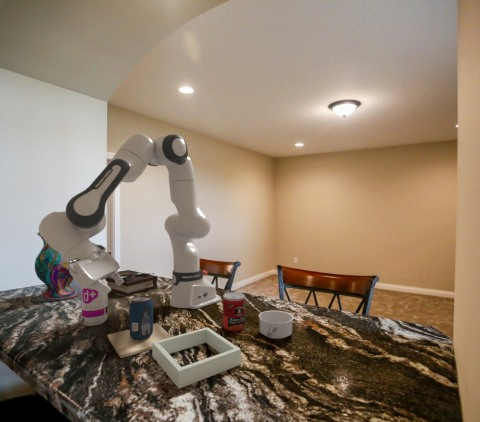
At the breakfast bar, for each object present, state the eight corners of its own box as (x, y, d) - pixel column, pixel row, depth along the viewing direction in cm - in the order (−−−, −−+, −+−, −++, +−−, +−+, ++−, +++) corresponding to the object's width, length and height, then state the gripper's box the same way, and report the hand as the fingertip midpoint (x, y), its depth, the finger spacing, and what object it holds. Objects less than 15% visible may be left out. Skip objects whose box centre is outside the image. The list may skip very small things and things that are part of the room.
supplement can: (97, 327, 99) (97, 283, 99) (76, 325, 100) (76, 282, 100) (112, 318, 107) (112, 278, 107) (92, 316, 108) (92, 277, 108)
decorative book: (127, 267, 164) (161, 274, 147) (127, 280, 165) (161, 289, 147) (94, 273, 149) (128, 282, 131) (94, 288, 149) (128, 299, 131)
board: (156, 325, 101) (156, 323, 101) (175, 342, 88) (175, 339, 88) (107, 337, 91) (107, 334, 91) (120, 358, 78) (120, 355, 78)
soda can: (138, 330, 94) (138, 294, 94) (157, 333, 92) (157, 296, 92) (124, 340, 87) (124, 300, 87) (144, 343, 86) (144, 302, 85)
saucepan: (248, 351, 82) (248, 332, 82) (261, 324, 102) (261, 309, 102) (289, 357, 79) (289, 337, 79) (294, 328, 99) (294, 312, 99)
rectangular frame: (207, 340, 89) (207, 327, 89) (240, 364, 75) (240, 349, 75) (152, 356, 79) (152, 342, 79) (178, 388, 65) (179, 371, 65)
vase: (89, 294, 136) (89, 231, 136) (46, 305, 121) (46, 234, 121) (68, 288, 146) (68, 229, 146) (27, 298, 131) (27, 232, 130)
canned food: (228, 333, 94) (228, 300, 94) (219, 325, 101) (219, 293, 101) (249, 329, 98) (249, 297, 97) (238, 321, 105) (238, 291, 105)
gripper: (72, 254, 78) (108, 289, 79) (105, 245, 99) (134, 273, 99) (55, 270, 78) (92, 306, 79) (92, 258, 99) (121, 286, 99)
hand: (115, 287), depth 89 cm, fingers open, 8 cm apart
